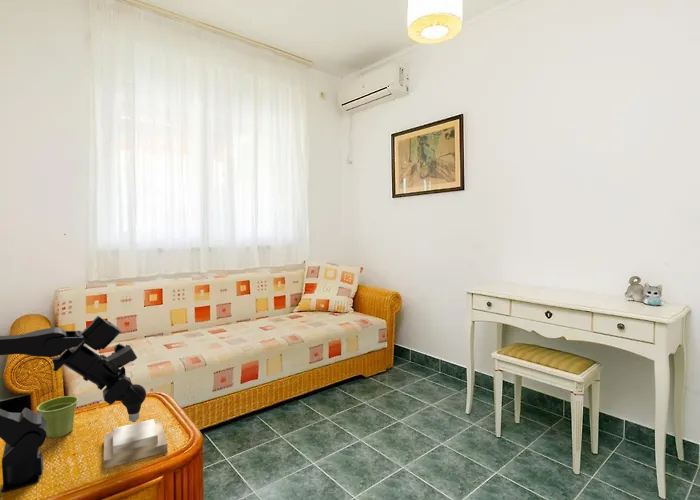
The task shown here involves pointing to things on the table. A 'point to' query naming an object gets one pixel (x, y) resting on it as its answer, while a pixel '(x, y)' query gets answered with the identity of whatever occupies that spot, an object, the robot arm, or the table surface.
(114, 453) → the stepped stand
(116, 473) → the table surface
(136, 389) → the light bulb
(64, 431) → the plant pot
